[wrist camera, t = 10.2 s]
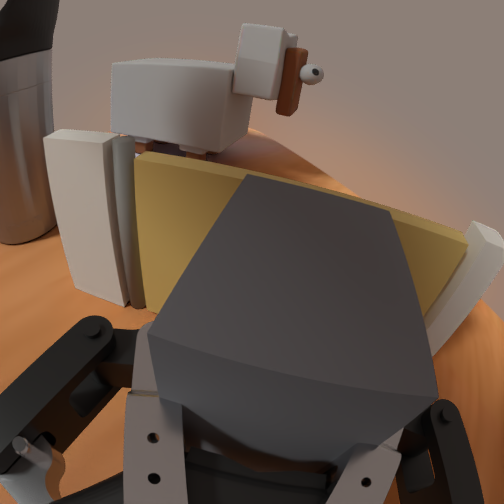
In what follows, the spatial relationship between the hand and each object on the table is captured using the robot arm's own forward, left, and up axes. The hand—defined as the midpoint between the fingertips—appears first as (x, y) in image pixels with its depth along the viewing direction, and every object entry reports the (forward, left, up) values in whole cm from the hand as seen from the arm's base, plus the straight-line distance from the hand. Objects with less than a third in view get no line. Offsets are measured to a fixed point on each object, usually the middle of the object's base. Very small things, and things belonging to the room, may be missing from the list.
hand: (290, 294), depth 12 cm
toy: (-32, +16, -9) cm, 37 cm away
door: (-3, +4, -9) cm, 10 cm away
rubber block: (+2, -2, -6) cm, 7 cm away
